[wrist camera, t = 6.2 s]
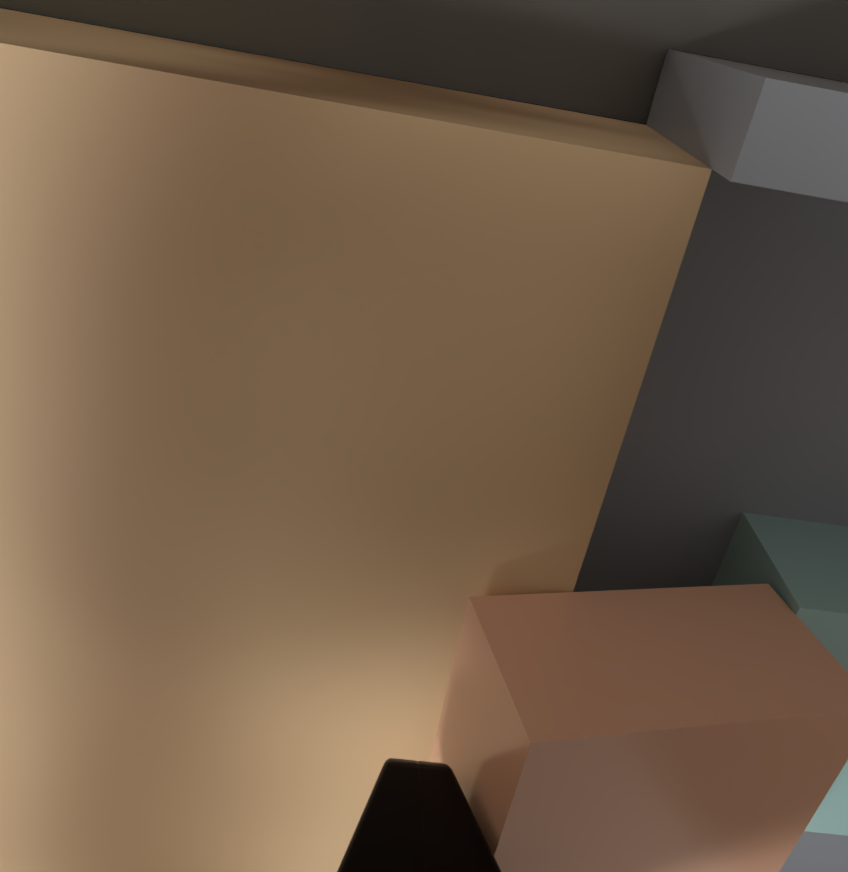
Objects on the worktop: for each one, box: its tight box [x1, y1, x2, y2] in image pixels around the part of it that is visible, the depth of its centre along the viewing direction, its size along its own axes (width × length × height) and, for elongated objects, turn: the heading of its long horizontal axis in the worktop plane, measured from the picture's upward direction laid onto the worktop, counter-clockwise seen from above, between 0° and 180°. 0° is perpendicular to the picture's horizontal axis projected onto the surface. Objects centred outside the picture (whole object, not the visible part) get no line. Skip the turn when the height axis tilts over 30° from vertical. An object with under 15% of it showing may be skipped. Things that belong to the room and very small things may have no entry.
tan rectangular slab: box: [0, 8, 712, 872], centre depth 11 cm, size 9×14×2 cm, turn 171°
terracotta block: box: [429, 584, 848, 872], centre depth 10 cm, size 4×4×2 cm
